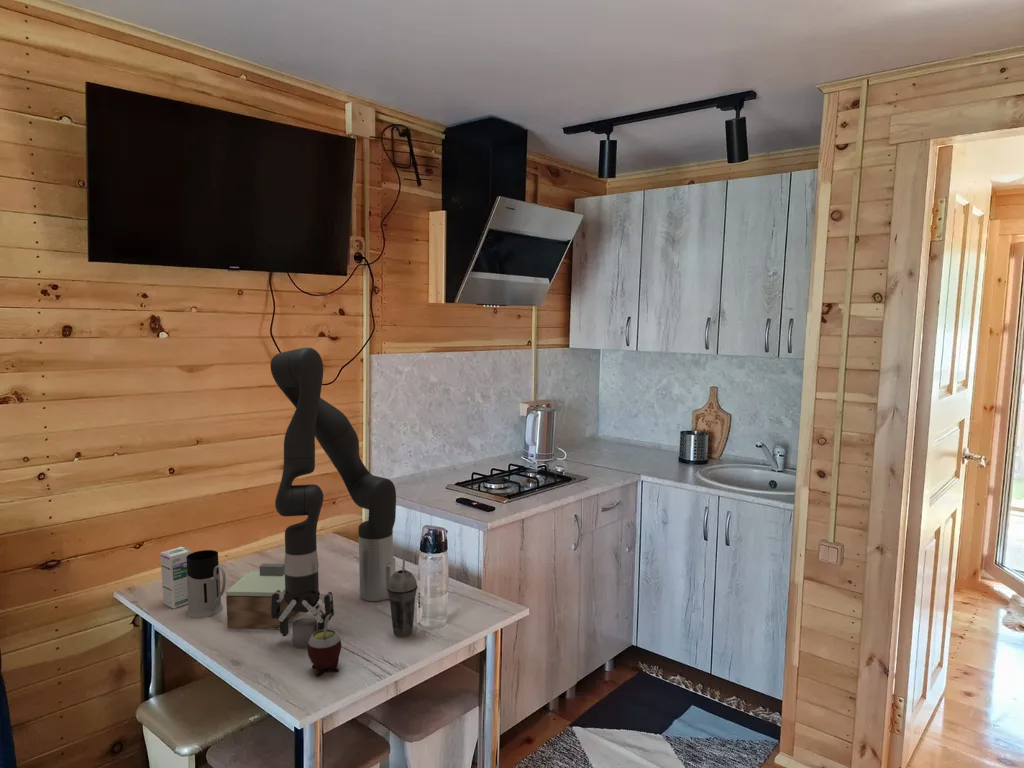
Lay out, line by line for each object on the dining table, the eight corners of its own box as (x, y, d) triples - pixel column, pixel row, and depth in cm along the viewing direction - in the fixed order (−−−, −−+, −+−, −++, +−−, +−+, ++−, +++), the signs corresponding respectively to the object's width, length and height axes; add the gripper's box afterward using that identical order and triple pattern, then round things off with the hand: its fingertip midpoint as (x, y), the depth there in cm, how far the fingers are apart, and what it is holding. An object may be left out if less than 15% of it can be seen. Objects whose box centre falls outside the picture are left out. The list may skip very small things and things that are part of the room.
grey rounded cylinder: (321, 637, 163) (320, 617, 163) (312, 649, 158) (312, 628, 157) (298, 637, 164) (297, 617, 163) (289, 648, 158) (288, 627, 158)
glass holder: (211, 600, 184) (208, 546, 183) (242, 614, 176) (239, 557, 174) (179, 612, 177) (177, 556, 176) (210, 626, 169) (207, 568, 167)
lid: (300, 576, 180) (300, 563, 179) (281, 596, 167) (281, 582, 166) (249, 575, 180) (248, 562, 180) (226, 595, 167) (225, 581, 167)
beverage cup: (381, 636, 163) (380, 556, 161) (398, 624, 170) (396, 546, 168) (408, 642, 161) (406, 560, 159) (423, 629, 167) (422, 550, 165)
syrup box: (173, 609, 179) (170, 556, 177) (162, 603, 182) (159, 551, 181) (194, 602, 183) (192, 550, 182) (183, 596, 187) (180, 545, 185)
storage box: (302, 606, 180) (301, 577, 180) (282, 629, 168) (281, 597, 167) (250, 605, 181) (249, 576, 180) (227, 627, 168) (226, 596, 168)
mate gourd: (320, 659, 153) (318, 595, 151) (351, 664, 151) (349, 599, 149) (300, 676, 146) (298, 609, 144) (333, 681, 144) (331, 613, 142)
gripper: (264, 574, 156) (267, 642, 157) (325, 576, 155) (327, 644, 156) (278, 562, 163) (280, 627, 165) (336, 564, 162) (337, 629, 164)
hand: (303, 635), depth 160 cm, fingers open, 8 cm apart
